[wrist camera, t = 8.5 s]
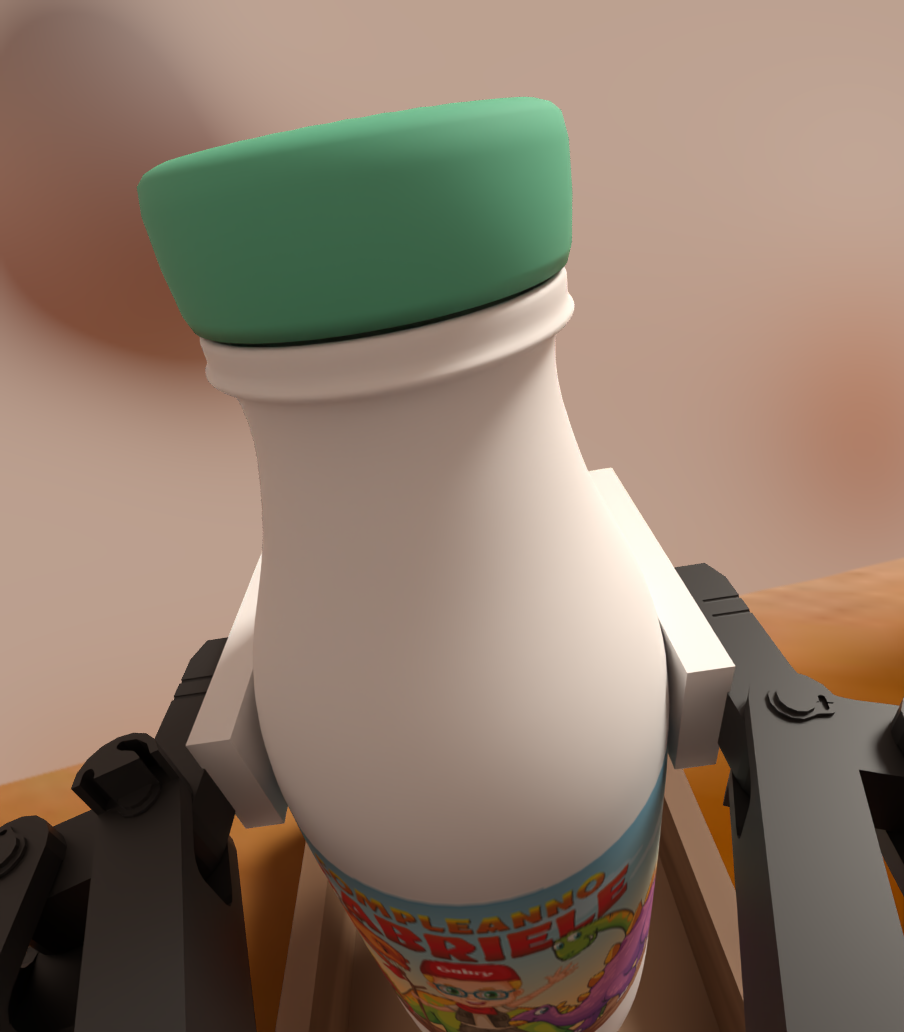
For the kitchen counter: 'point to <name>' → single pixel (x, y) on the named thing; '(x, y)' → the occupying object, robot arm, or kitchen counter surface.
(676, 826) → the wooden tray
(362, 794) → the milk bottle
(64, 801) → the kitchen counter surface
